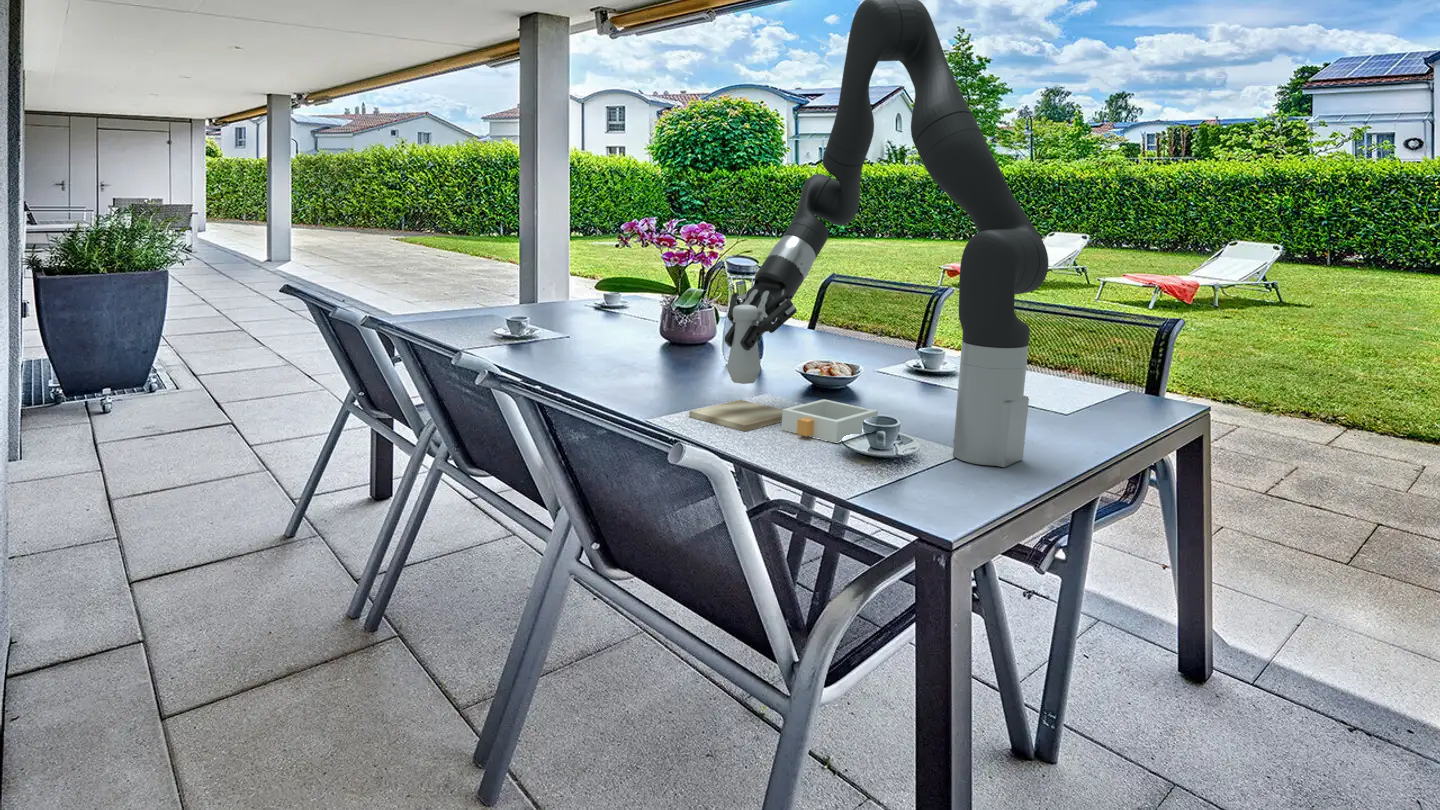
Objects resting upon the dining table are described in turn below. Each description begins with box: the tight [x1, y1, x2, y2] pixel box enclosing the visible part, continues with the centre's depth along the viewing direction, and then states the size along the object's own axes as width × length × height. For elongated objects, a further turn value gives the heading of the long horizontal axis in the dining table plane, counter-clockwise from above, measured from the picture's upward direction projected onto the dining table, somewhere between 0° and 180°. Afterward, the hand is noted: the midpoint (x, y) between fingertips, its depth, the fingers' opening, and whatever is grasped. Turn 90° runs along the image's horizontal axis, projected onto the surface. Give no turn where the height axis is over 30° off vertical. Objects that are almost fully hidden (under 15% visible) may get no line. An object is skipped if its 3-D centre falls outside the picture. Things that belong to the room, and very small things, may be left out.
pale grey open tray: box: [781, 398, 879, 442], centre depth 145 cm, size 11×13×4 cm
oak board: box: [688, 399, 783, 432], centre depth 153 cm, size 13×13×1 cm
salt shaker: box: [726, 305, 761, 385], centre depth 150 cm, size 6×6×13 cm
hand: (736, 345), depth 149 cm, fingers closed on salt shaker, 3 cm apart
